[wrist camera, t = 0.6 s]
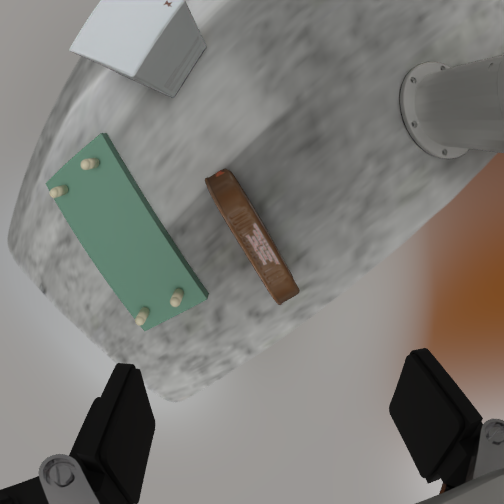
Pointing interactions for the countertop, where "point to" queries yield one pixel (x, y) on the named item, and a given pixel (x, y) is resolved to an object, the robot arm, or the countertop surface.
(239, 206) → the tin
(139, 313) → the green peg board
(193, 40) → the supplement box
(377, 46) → the countertop surface
